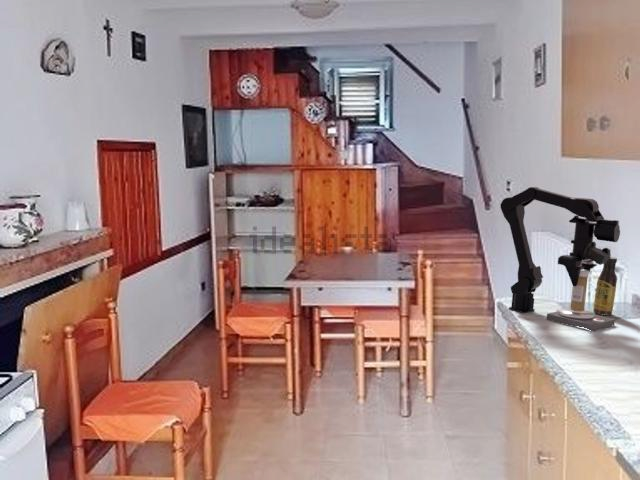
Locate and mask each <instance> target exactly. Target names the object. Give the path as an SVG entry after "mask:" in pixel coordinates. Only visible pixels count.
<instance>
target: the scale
mask: <svg viewBox="0 0 640 480" xmlns="http://www.w3.org/2000/svg"><path fill="white" fill-rule="evenodd" d="M545 320H547V321H550V322H554V323H557V322H558V323H557V324H561V323H563V324H562V325H565V324H568V325H567V326H569V325H573V326H579V327H584V328H587V329H589V330H591V331H590V332H592V331H593V332H596V331H600V330H602V329H607V328H609V327H610V328H611V327H613V326H612V325H614V326H615V322H616V319H615V318H611V317H606V316H604V315H599V314H594V319H591V320H578V319H571V318H566V317H562V316H560V315H558V314H557V311H554V312H553V311H552V312H548V313H546V319H545ZM573 326H572V327H573ZM589 330H588V331H589Z"/></svg>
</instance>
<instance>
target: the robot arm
mask: <svg viewBox="0 0 640 480" xmlns="http://www.w3.org/2000/svg"><path fill="white" fill-rule="evenodd" d="M533 201H537V202H541V203H545V204H549V205H553V206H554V207H559V208H561V209H562V208H563V209H565V210H567V211H569V212H570V213H572V214H573V215H574V217H572V218H571V219H569V220H568V222H569V223H573V224H575V226H574V236H573V239H571V240H570V244H573V246H572V252H569V254H562V255H560V256H558V258H557V265H561V266H564V267H565V269H566V272H567V273H568V276H569V279H570V282H571V285H572V287H573V286H577V282H578V278H579V274H580V271H581V270H582V269H585V270H588V271H589V273H590V272H591V270H592V269H594V268H595V267H597V266H598V265H599V266H600V265H604V264H606V262H607V260H608V259H610V258H611V257H612V256H611V255H612V254H611V249H610V248H608V247H604V248H598V247H597V243H596V241H594V238H596V240H598V241H604V242H611V243H612V242H613V243H618V241H619V239H620V235H621V230H620V225H619V224H620V221H619V220H617V219H615V220H614V219H613V220H612V219H605V218H604V216H603V214H602V212H601V211H600V209H599V208H600V206H599V203H598V202H597V200H595V199H593V198H586V197H585V198H584V197H573V196H568V195H563V194H560V193H557V192H554V191H553V192H552V191H549V190H545V189H541V188H539V187H537V186H531V187H528V188H526V189H525V190H523V191H521V192H519V193H517V194H515V195H513V196H512V197H505V198H504V199H502V201H501V203H500V210H501V213H502V215H503V217H504V219H505V220H506V222H507V223H508V224H509V228H510V232H511V236H512V237H511V238H512V239H513V244H514V249H515V253H516V259H517V262H518V269H517V282H515V283H513V285H511V286H510V291H511V294H512V298H511V306H510V307H508V310H511V311H515V312H520V313H523V314H526V313H530V312H534V311H535V310H536V309H535V308H534V305H535V298H534V296H535V295H534V293H535V292H536V290H537V288H539V287H540V286H541V285H542V282H543V278H544V275H543V274H542V268H541V266H540V265H539V266H537V265H535V263H534V261H533V257H532V254H531V249H530V245H529V241H528V236H527V231H526V228H525V223H524V222H525V221H524V219H525V214H526V213H525V211H526V210H525V207H526V206H528V205H530V204H531V203H533Z"/></svg>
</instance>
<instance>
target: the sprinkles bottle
mask: <svg viewBox="0 0 640 480" xmlns="http://www.w3.org/2000/svg"><path fill="white" fill-rule="evenodd" d="M589 275H590V272H589V271H588V270H585V269H582V270H581V271H580V274H579V278H578V282H577V286H573V285H572V288H571V297H570V299H571V300H570V306H569V308H570V309H571V310H573V311H578V312H582V311H584V310H585V306H586V299H587V287H588V278H589Z"/></svg>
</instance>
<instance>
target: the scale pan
mask: <svg viewBox="0 0 640 480" xmlns="http://www.w3.org/2000/svg"><path fill="white" fill-rule="evenodd" d="M556 312H557V314H558V315H560V316H562V317H566V318H571V319H578V320H591V319H594V315H595V313H594V312H592V311H589V310H587V309H586V310H584V311H582V312H578V311H573V310H571V309H570V307H559V308H557V309H556Z"/></svg>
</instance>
